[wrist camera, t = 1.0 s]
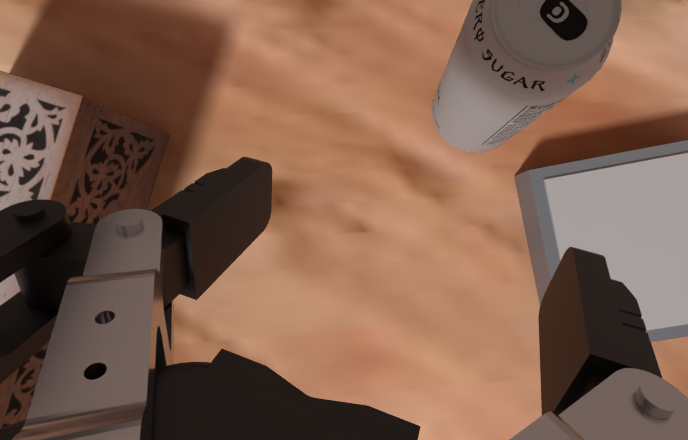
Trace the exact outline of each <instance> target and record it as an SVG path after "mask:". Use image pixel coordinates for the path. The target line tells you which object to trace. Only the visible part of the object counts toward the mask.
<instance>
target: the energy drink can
mask: <svg viewBox="0 0 688 440" xmlns="http://www.w3.org/2000/svg"><path fill="white" fill-rule="evenodd" d="M620 15H621V0H473V1H472V4H471V6H470V9H469V11H468V14H467V16H466V19H465V21H464V24H463V26H462V29H461V31H460V34H459V36H458V39H457V41H456V44H455V46H454V49H453V51H452V54H451V57H450V59H449V62H448V64H447V67H446V69H445V72H444V74H443V77H442V79H441V82H440V84H439V87H438V89H437V92H436V94H435V97H434V100H433V106H432V115H433V121H434V124H435V127H436V129H437V131H438V133H439V134H440V135H441V137H442V138H443V139H444V140H445V141H446V142H447V143H449V144H450V145H451V146H453V147H455V148H457V149H459V150H462V151H465V152H473V153H476V152H485V151H489V150H492V149H494V148H496V147H498V146H500V145H501V144H502V143H504V142H505V141H507V140H508V139H509V138H511V137H512V136H513V135H515V134H516V133H518V132H519V131H520V130H522V129H523V128H525V127H526V126H527V125H529V124H530V123H531V122H533V121H534V120H536V119H537V118H538V117H540V116H541V115H542V114H544V113H545V112H547V111H548V110H549V109H551V108H552V107H554V106H555V105H556V104H558V103H559V102H560V101H562V100H563V99H565V98H566V97H567V96H569V95H570V94H571V93H573V92H574V91H576V90H577V89H578V88H580V87H581V86H582V85H584V84H585V83H586V82H588V81H589V80H590V79H591V78H592V77H593V76H594V75H595V74H596V73H597V72H598V71H599V70H600V68H601V67H602V65H603V63H604V62H605V60H606V58H607V57H608V54H609V51H610V48H611V46H612V43H613V36H614V34H615V32H616V30H617V27H618V24H619V21H620Z"/></svg>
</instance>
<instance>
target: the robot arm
mask: <svg viewBox="0 0 688 440" xmlns="http://www.w3.org/2000/svg"><path fill="white" fill-rule="evenodd" d="M271 199H272V167H271V165H270V164H269V163H267V162H263V161H259V160H256V159H252V158H248V157H242V158H241V159H239V160H238V161H236V162H235V163H234V164H232V165H231V166H229V167H228V168H226V169H225V168H223V169H219V170H216V171H213V172H210V173H207V174H205V175H204V176H202V177H201V178H199V179H198V180H196V181H195V183H194V184H193V183H192V184H190V185H189V186H187V187H186V188H185V190H182V191H180V192H179V193H177V194H176V195H174V196H173V197H171V198H170V199H168V200H167V201H165V202H164V203H162V204H161V205H159V206H158V207H156V208H155V209H153V210H152V211H149V210H144V209H127V210H121V211H118V212H114V213H112V214H109V215H107V216H105V217H104V218H102V219H101V220H100V221H99V222H98V223H97V224H91V223H80V222H70V221H69V217H68V214H67V210H66V207H65V206H64V205H63V204H62V203H60V202H57V201H53V200H45V199H39V200H29V201H24V202H20V203H16V204H14V205H11V206H9V207H7V208H5V209H3V210H1V211H0V283H1V282H2V281H4V280H5V279H7V278H8V277H10V276H11V275H13V274H14V275H15V277H16V280H17V282H18V285H19V287H20V290H21V291H20V292H18V293H17V294H16V295H14V296H13V297H11V298H10V299H9V300H7V301H6V302H4V303H3V304H2V305H0V384H1V383H2V382H3V381H4V380H6V379H7V378H8V377H9V376H10V375H11V374H12V373H14V372H15V371H16V370H17V369H18V368H19V367H20V366H22V365H23V364H24V363H25V362H26V361H27V360H29V359H30V358H31V357H32V356H33V355H34V354H35V353H37V352H38V351H39V350H40V349H41V348H42V347H43V346H45V345H46V344H47V343H48V342H49V345H48V348H47V351H46V355H45V358H44V361H43V365H42V368H41V371H40V375H39V378H38V381H37V385H36V388H35V391H34V395H33V398H32V401H31V405H30V408H29V411H28V415H27V418H26V419H25V420H22V421H20V422H17V423H15V424H12V425H9V426H7V427H4V428H2V429H0V440H417V439H418V435H419V431H420V426H418V425H415V424H413V423H410V422H408V421H405V420H403V419H400V418H398V417H395V416H392V415H390V414H387V413H385V412H382V411H380V410H377V409H375V408H372V407H370V406H366V405H359V404H352V403H345V402H339V401H332V400H325V399H318V398H313V397H310V396H308V395H306V394H304V393H303V392H302V391H300V390H299V389H298V388H296V387H295V386H293V385H292V384H291V383H289V382H288V381H286V380H285V379H284V378H282V377H281V376H280V375H278V374H277V373H275V372H274V371H273V370H271V369H270V368H268V367H267V366H265V365H262V364H260V363H257V362H255V361H252V360H249V359H247V358H244V357H242V356H239V355H237V354H234V353H232V352H229V351H227V350H224V349H221V350H220V352H219V353H218V354H217V356H216V357H215V358H214V359H213V361H212V362H211V363H209V362H187V363H178V364H174V304H173V300H174V299H175V298H176V297H177V296H178V295H179V294H182V295H184V296H187V297H190V298H192V299H195V300H197V299H198V298H199V297H200V296H201V295H202V294H203V293H204V292H205V291H206V290H207V289H208V288H209V287H210V286H211V285H212V284H213V283H214V282H215V280H216V279H217V278H218V277H219V276H220V275H221V274H222V273H223V272H224V271H225V270H226V269H227V268H228V267H229V266H230V265H231V264H232V263H233V262H234V261H235V260H236V259H237V258H238V257H239V256H240V255H241V254H242V253H243V252H244V250H245V249H246V248H247V247H248V246H249V245H250V244H251V243H252V242H253V241H254V240H255V239H256V238H257V237H258V236H259V235H260V234H261V233H262V232H263V231H264V229H265V228H266V226H267V224H268V222H269V219H270V215H271ZM641 317H642V314H641V311H640V308H639V305H638V302H637V299H636V298H635V297H634V295H633V294H632V293H631V292H630V291H629V289H628V288H627V287H626V286H625V285H624V284H623V282H620V281H616V280H613V279H611V278H610V274H609V270H608V266H607V263H606V259H605V257H604V256H603V255H600V254H596V253H593V252H589V251H585V250H582V249H578V248H574V247H569V248H568V249H567V250H566V251H565V253H564V255H563V257H562V259H561V261H560V263H559V265H558V267H557V269H556V271H555V273H554V275H553V277H552V279H551V281H550V283H549V286H548V288H547V290H546V292H545V294H544V296H543V299H542V302H541V306H540V310H539V342H540V371H541V400H542V416H541V417H540V418H538V419H537V420H536V421H534V422H533V423H531V424H530V425H529V426H527V427H526V428H525V429H523V430H522V431H521V432H519V433H518V434H517V435H515V436H514V437H512V438H511V439H510V440H688V399H687V398H686V396H685V395H683V394H682V393H681V392H680V391H679V390H678V389H677V388H675V387H674V386H673V385H672V384H670V383H669V382H667V381H666V380H664V379H662V376H661V373H660V370H659V367H658V363H657V360H656V357H655V354H654V351H653V348H652V345H651V342H650V339H649V336H648V333H646V326H645V323H644V320H643V319H642V318H641Z"/></svg>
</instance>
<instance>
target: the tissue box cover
mask: <svg viewBox="0 0 688 440" xmlns="http://www.w3.org/2000/svg"><path fill="white" fill-rule="evenodd" d="M168 139H169V135H168V134H166V133H163V132H161V131H159V130H157V129H155V128H152V127H150V126H148V125H146V124H144V123H141V122H139V121H137V120H135V119H133V118H130V117H128V116H126V115H124V114H122V113H119V112H117V111H115V110H113V109H111V108H108V107H106V106H104V105H102V104H100V103H98V102H95V101H93V100H91V99H89V98H87V97H84V96H82V95H78V94H75V93H72V92H69V91H65V90H62V89H59V88H55V87H52V86H49V85H46V84H42V83H39V82H36V81H32V80H29V79H26V78H23V77H19V76H16V75H13V74H9V73H6V72H3V71H0V211H1V210H3V209H5V208H7V207H9V206H11V205H14V204H16V203H20V202H24V201H29V200H39V199H45V200H53V201H57V202H60V203H62V204H63V205H64V206H65V207H66V210H67V214H68V217H69V221H70V222H80V223H91V224H97V223H98V222H99V221H100V220H101V219H102V218H104V217H105V216H107V215H109V214H112V213H114V212H118V211H121V210H127V209H144V210H146V209H147V205H148V202H149V199H150V196H151V193H152V189H153V186H154V183H155V180H156V177H157V174H158V170H159V167H160V164H161V161H162V158H163V154H164V151H165V148H166V145H167V142H168ZM20 291H21V290H20V287H19V285H18V282H17V280H16V277H15V275H14V274H13V275H11V276H10V277H8V278H7V279H5V280H4V281H2V282H1V283H0V305H2V304H3V303H4V302H6V301H7V300H9V299H10V298H11V297H13V296H14V295H16V294H17V293H18V292H20ZM48 345H49V342H48V343H47V344H46V345H45V346H43V347H42V348H41V349H40V350H39V351H38V352H37V353H35V354H34V355H33V356H32V357H31V358H30V359H29V360H27V361H26V362H25V363H24V364H23V365H22V366H20V367H19V368H18V369H17V370H16V371H15V372H14V373H12V374H11V375H10V376H9V377H8V378H7V379H6V380H4V381H3V382H2V383H1V384H0V429H2V428H4V427H7V426H9V425H12V424H15V423H17V422H20V421H22V420H25V419H26V418H27V415H28V411H29V408H30V405H31V401H32V398H33V395H34V391H35V388H36V385H37V381H38V378H39V375H40V371H41V368H42V365H43V361H44V358H45V355H46V351H47V348H48Z"/></svg>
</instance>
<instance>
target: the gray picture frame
mask: <svg viewBox="0 0 688 440" xmlns="http://www.w3.org/2000/svg"><path fill="white" fill-rule="evenodd" d="M514 177H515V182H516V187H517V192H518V197H519V202H520V207H521V212H522V217H523V222H524V227H525V232H526V237H527V242H528V247H529V252H530V257H531V262H532V267H533V272H534V276H535V281H536V286H537V291H538V296H539V301H540V306H541V302H542V299H543V296H544V294H545V292H546V290H547V288H548V286H549V283H550V281H551V279H552V277H553V275H554V273H555V271H556V269H557V267H558V265H559V263H560V261H561V259H562V257H563V255H564V253H565V251H566V250H567V249H568V248H569V247H574V248H578V249H582V250H585V251H589V252H593V253H596V254H600V255H603V256H604V257H605V259H606V263H607V266H608V270H609V274H610V278H611V279H613V280H616V281H620V282H623V284H624V285H625V286H626V287H627V288H628V289H629V291H630V292H631V293H632V294H633V295H634V297H635V298H636V299H637V302H638V305H639V308H640V311H641V314H642V317H641V318H642V319H643V320H644V323H645V326H646V333H648V336H649V339H650V342H654V341H661V340H667V339H674V338H680V337H686V336H688V140H685V141H680V142H674V143H669V144H664V145H659V146H653V147H648V148H643V149H638V150H632V151H627V152H622V153H616V154H611V155H606V156H601V157H595V158H590V159H585V160H579V161H574V162H569V163H564V164H558V165H553V166H548V167H542V168H537V169H532V170H528V171H525V172H523V173H520V174H518V175H516V176H514Z"/></svg>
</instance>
